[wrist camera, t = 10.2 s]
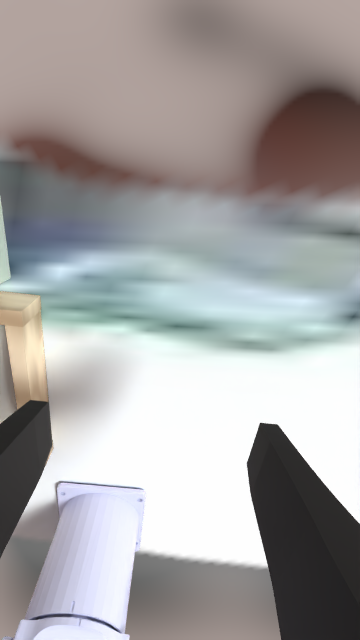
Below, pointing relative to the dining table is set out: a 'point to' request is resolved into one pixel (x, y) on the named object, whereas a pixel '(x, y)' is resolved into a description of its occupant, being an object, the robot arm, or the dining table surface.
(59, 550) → the robot arm
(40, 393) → the rack
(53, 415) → the dining table surface
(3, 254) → the pale green slab
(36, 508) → the dining table surface
